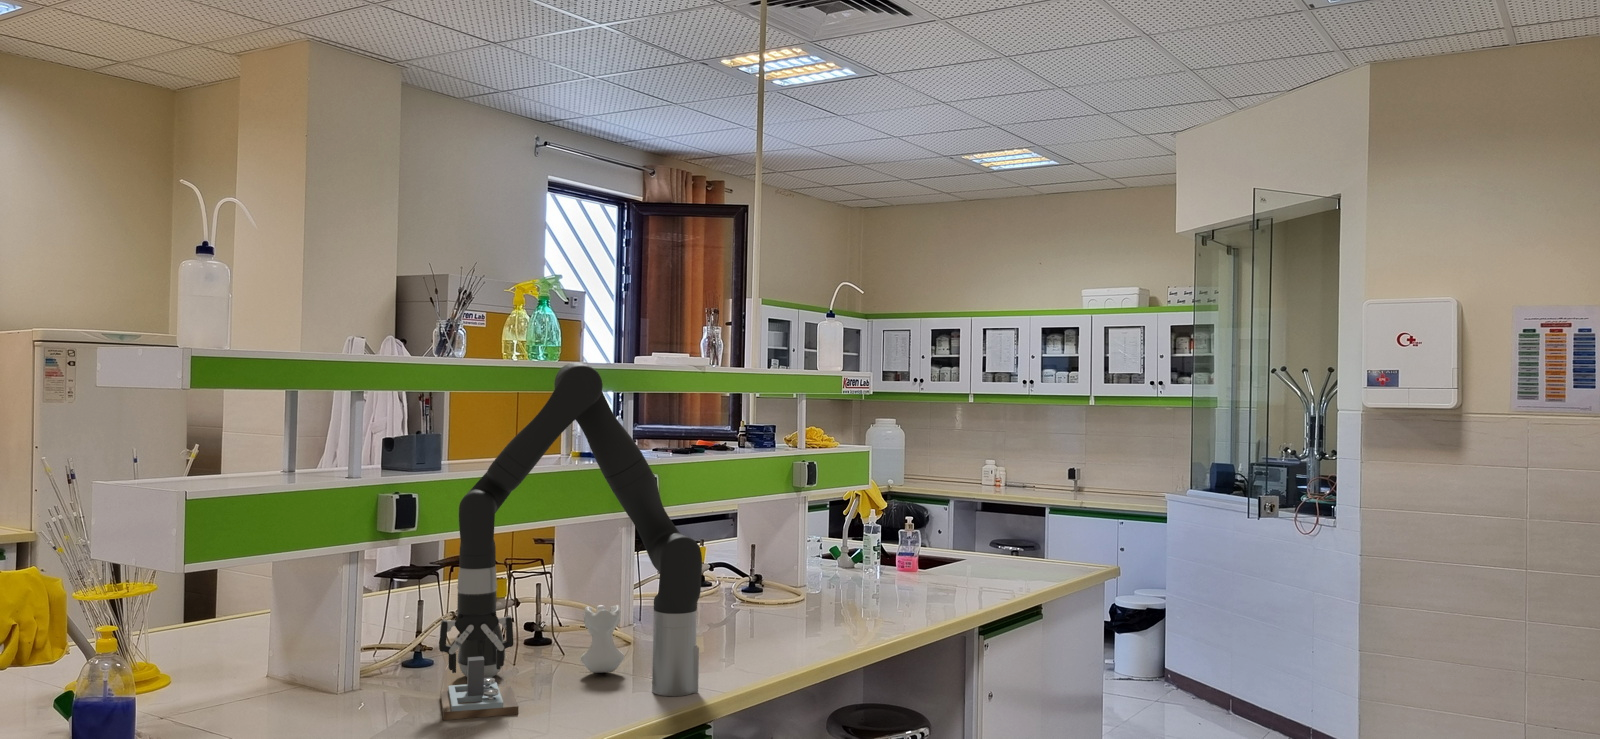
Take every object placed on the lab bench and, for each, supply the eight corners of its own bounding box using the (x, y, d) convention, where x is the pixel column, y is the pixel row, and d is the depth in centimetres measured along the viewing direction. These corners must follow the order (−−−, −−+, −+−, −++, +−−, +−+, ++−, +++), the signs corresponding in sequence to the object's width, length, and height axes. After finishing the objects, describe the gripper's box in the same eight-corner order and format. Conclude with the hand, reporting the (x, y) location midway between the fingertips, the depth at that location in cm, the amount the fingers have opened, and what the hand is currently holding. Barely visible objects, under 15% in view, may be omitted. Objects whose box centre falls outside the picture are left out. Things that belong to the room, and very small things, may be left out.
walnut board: (510, 693, 233) (511, 673, 233) (518, 714, 218) (518, 692, 218) (440, 698, 228) (440, 678, 228) (443, 720, 213) (443, 698, 213)
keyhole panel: (496, 687, 232) (497, 648, 232) (503, 707, 217) (504, 666, 217) (448, 690, 228) (449, 651, 229) (451, 711, 213) (452, 669, 214)
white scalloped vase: (581, 680, 244) (582, 611, 245) (577, 668, 255) (579, 602, 256) (625, 677, 247) (626, 610, 247) (620, 666, 258) (621, 601, 258)
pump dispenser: (447, 676, 246) (449, 607, 246) (490, 668, 253) (491, 601, 254) (470, 685, 239) (471, 614, 239) (513, 677, 246) (515, 608, 246)
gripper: (511, 584, 229) (510, 663, 229) (439, 588, 224) (438, 668, 224) (515, 590, 222) (514, 672, 222) (440, 594, 217) (439, 677, 217)
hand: (476, 670), depth 223 cm, fingers open, 8 cm apart
